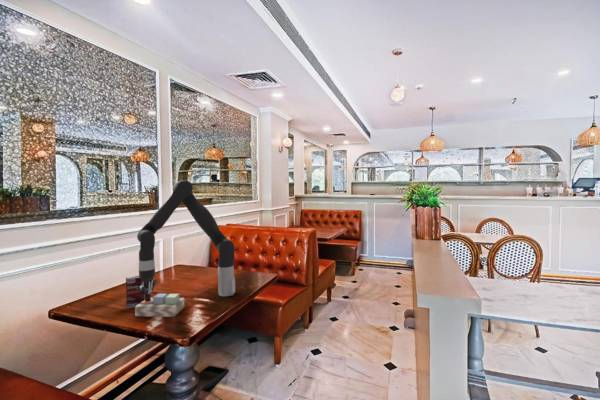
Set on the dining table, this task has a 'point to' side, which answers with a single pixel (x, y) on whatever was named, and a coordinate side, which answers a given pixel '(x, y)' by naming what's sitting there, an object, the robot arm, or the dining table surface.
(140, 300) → the supplement box
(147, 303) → the tile terracotta
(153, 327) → the dining table surface
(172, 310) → the tile board
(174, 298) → the tile sage
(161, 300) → the pale blue cube
